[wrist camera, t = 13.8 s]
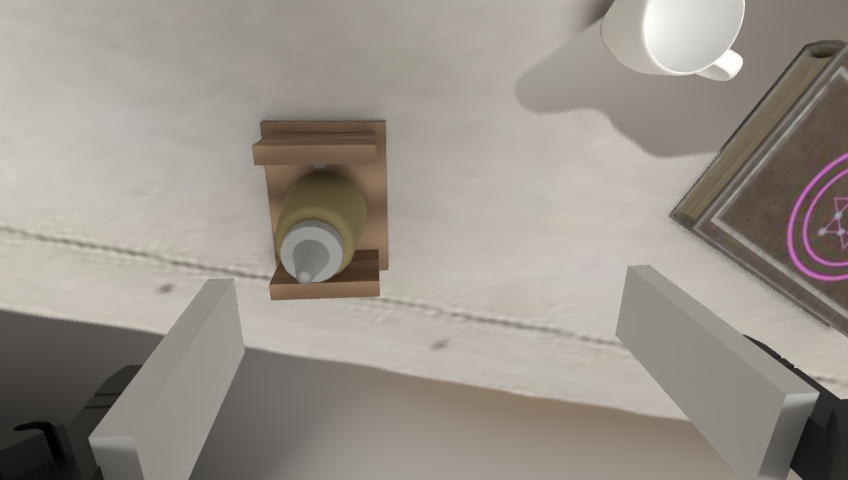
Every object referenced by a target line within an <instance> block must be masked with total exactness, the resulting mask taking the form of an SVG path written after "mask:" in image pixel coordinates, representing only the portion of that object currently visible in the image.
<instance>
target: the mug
mask: <svg viewBox="0 0 848 480" xmlns="http://www.w3.org/2000/svg"><path fill="white" fill-rule="evenodd" d="M744 7H745V0H615V1H614V2H613V4H612V5H611V7H610V8H609V10H608V11H607V13H606V14H605V16H604V18H603V20H602V23H601V29H600V33H601V38H602V41H603V43H604V44H605V46H606V47H607V48H608V49H609V51H610V52H611V54H612V55H613V56H614V57H615V58H616V59H617V60H618V61H619V62H620V63H622V64H623V65H624V66H626V67H628V68H629V69H632V70H634V71H637V72H641V73H646V74H655V75H675V76H677V75H678V76H680V75H689V74H693V73H695V74H698V75H700V76H703V77H706V78H709V79H713V80H721V81H724V80H729V79H731V78H733V77H734V76H735V75H736V74H737V73H738V71H739V70H740V68H741V67H742V65H743V60H742V58H741V56H740V55H738V54H737V53H735V52H733V51H732V50H730V49H729V48H730V46H731V45H732V43H733V42H734V40H735V39H736V37H737V35H738V32H739V30H740V27H741V24H742V21H743V16H744Z"/></svg>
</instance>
